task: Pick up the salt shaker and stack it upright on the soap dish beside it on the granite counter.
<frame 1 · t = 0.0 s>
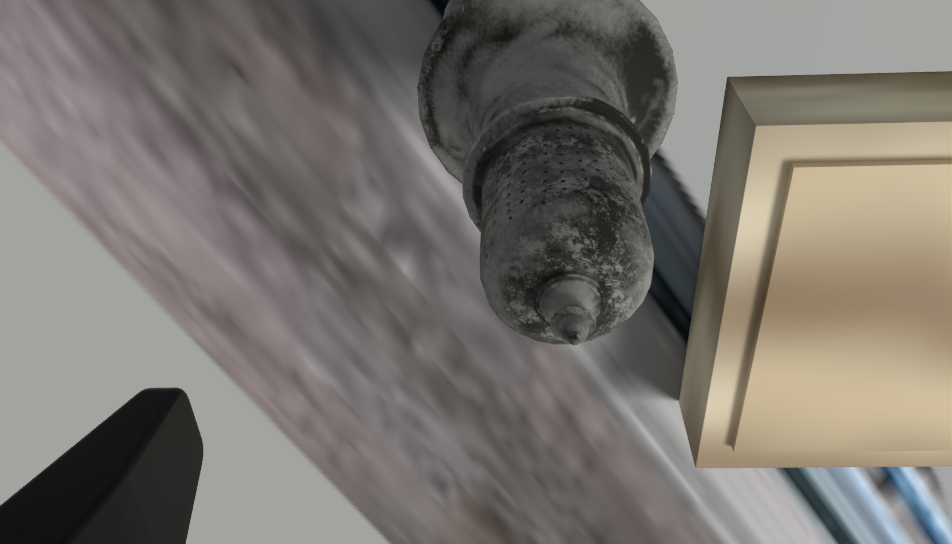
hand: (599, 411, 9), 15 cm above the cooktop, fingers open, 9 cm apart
soap dish: (897, 258, 25), on the cooktop
salt shaker: (539, 42, 22), on the cooktop
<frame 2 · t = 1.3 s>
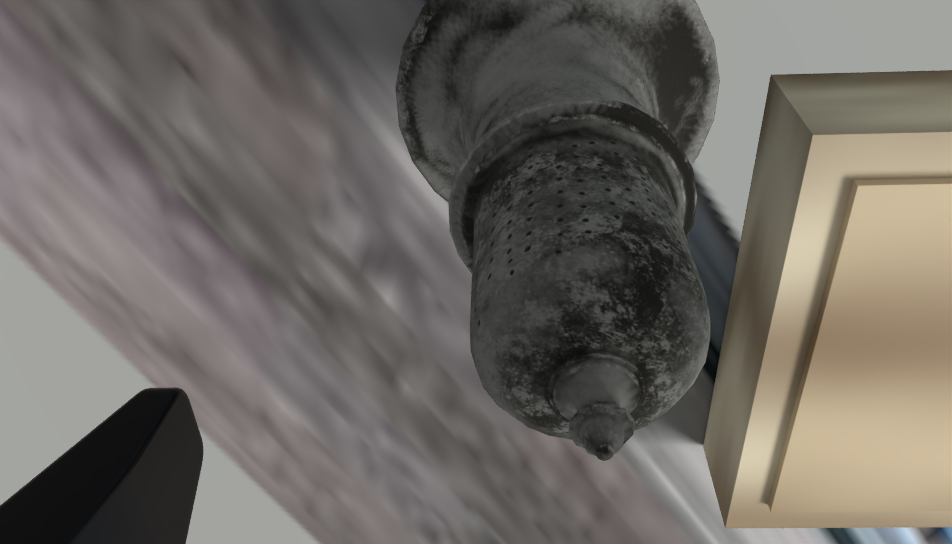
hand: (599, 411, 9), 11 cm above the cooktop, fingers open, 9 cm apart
salt shaker: (545, 33, 18), on the cooktop
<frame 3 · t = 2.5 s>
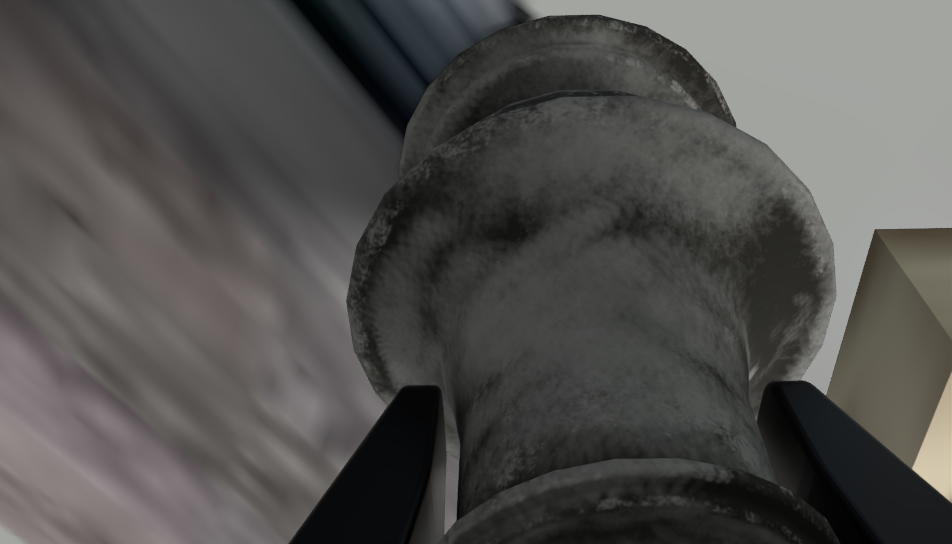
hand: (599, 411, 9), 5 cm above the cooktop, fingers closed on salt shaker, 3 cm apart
salt shaker: (566, 175, 13), on the cooktop, touching gripper
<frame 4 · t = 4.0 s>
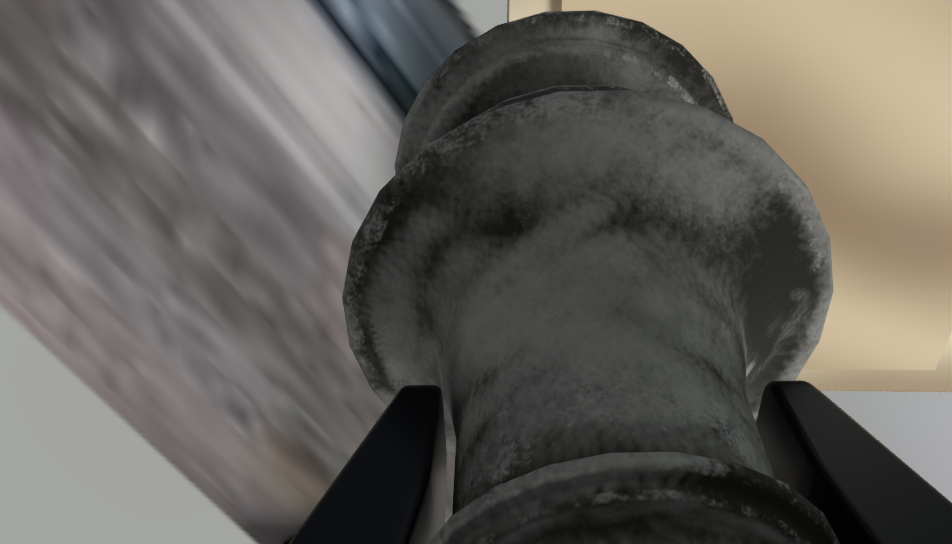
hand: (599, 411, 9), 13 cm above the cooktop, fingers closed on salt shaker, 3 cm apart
soap dish: (743, 134, 21), on the cooktop
salt shaker: (563, 171, 13), point 7 cm above the cooktop, touching gripper
when the fingers open (9 cm above the cooktop, at t = 5.3 s): salt shaker stays where it is, resting on soap dish.
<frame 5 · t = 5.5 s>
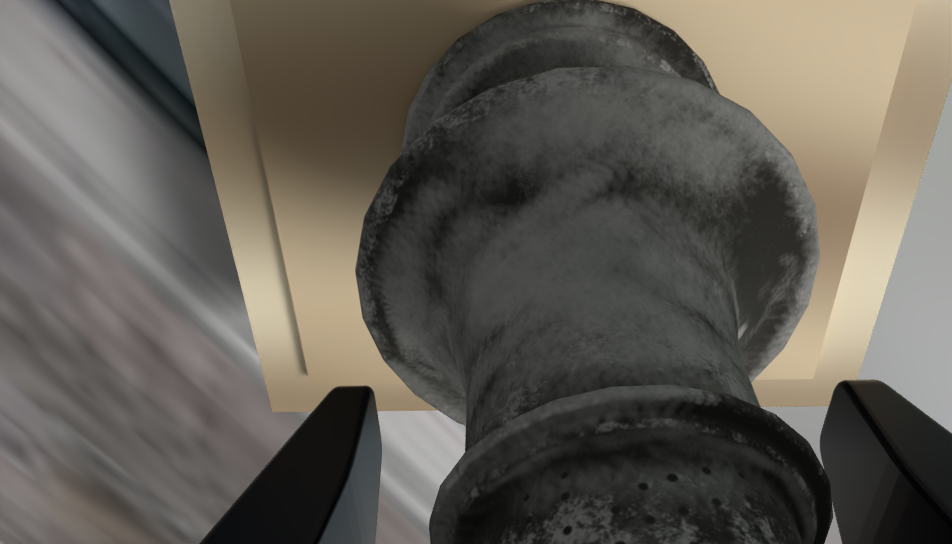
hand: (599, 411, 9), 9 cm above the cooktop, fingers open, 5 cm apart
soap dish: (554, 80, 16), on the cooktop
salt shaker: (561, 155, 14), point 3 cm above the cooktop, touching soap dish
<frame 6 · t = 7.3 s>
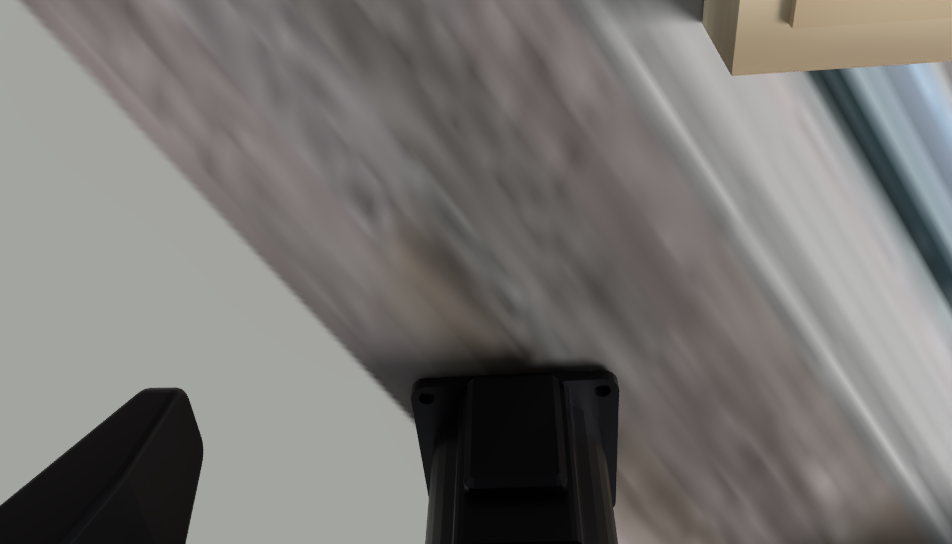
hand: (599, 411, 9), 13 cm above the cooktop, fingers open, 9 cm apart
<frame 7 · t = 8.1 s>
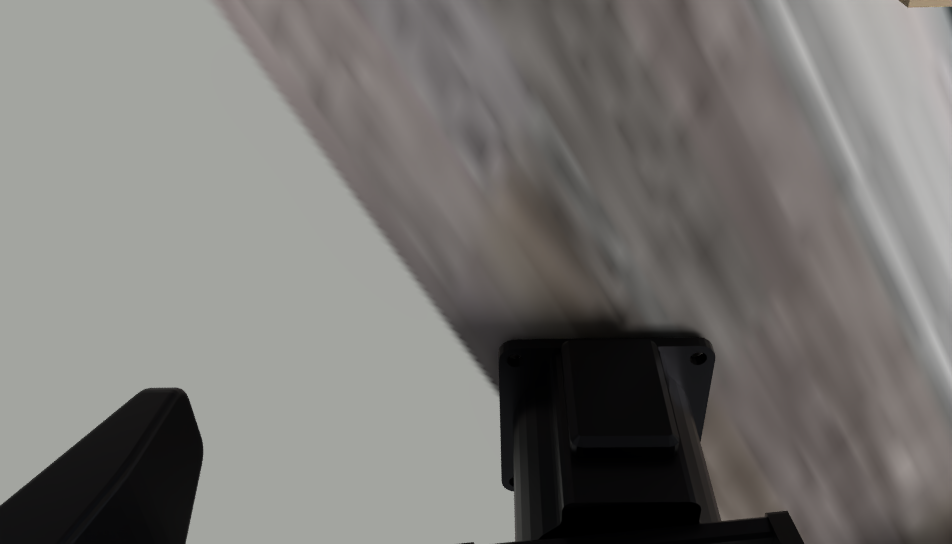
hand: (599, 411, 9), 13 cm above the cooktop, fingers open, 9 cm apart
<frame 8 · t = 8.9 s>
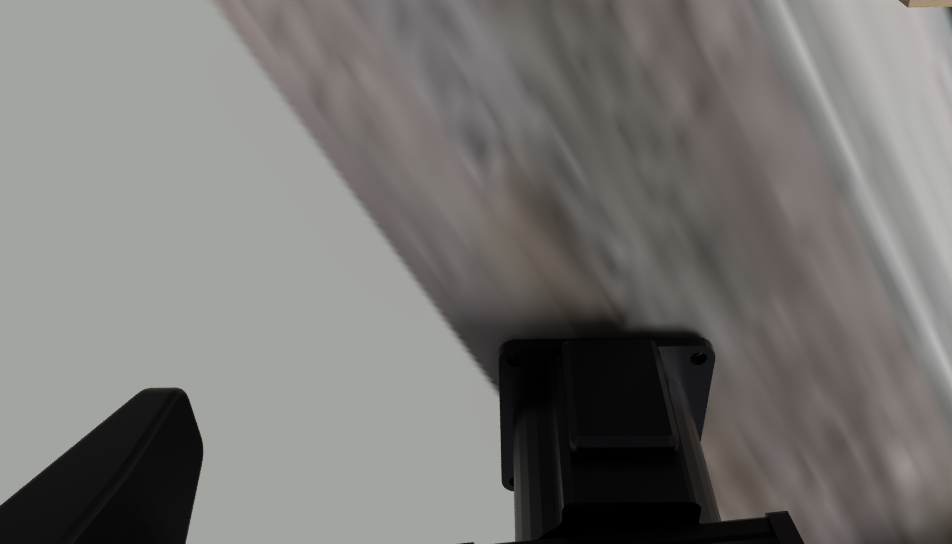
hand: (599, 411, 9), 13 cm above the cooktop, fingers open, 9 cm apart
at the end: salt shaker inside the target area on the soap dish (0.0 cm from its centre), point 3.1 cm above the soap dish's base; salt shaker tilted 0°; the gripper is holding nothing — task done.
